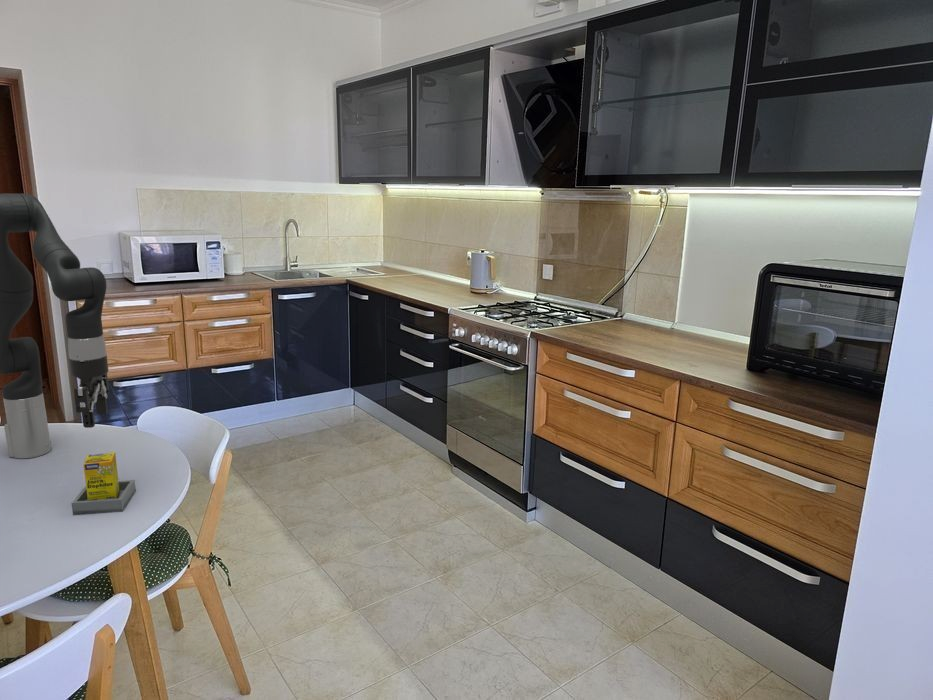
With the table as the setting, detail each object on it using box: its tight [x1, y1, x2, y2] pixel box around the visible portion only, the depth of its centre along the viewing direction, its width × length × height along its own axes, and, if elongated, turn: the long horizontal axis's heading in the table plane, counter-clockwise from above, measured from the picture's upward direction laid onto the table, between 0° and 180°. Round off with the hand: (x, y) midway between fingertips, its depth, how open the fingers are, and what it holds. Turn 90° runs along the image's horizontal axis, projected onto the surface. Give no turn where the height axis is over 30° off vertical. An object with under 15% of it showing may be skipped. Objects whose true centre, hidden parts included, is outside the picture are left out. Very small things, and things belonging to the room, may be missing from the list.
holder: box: [71, 479, 137, 516], centre depth 153 cm, size 11×11×3 cm
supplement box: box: [83, 451, 119, 501], centre depth 152 cm, size 6×6×11 cm
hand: (96, 420), depth 151 cm, fingers open, 8 cm apart
